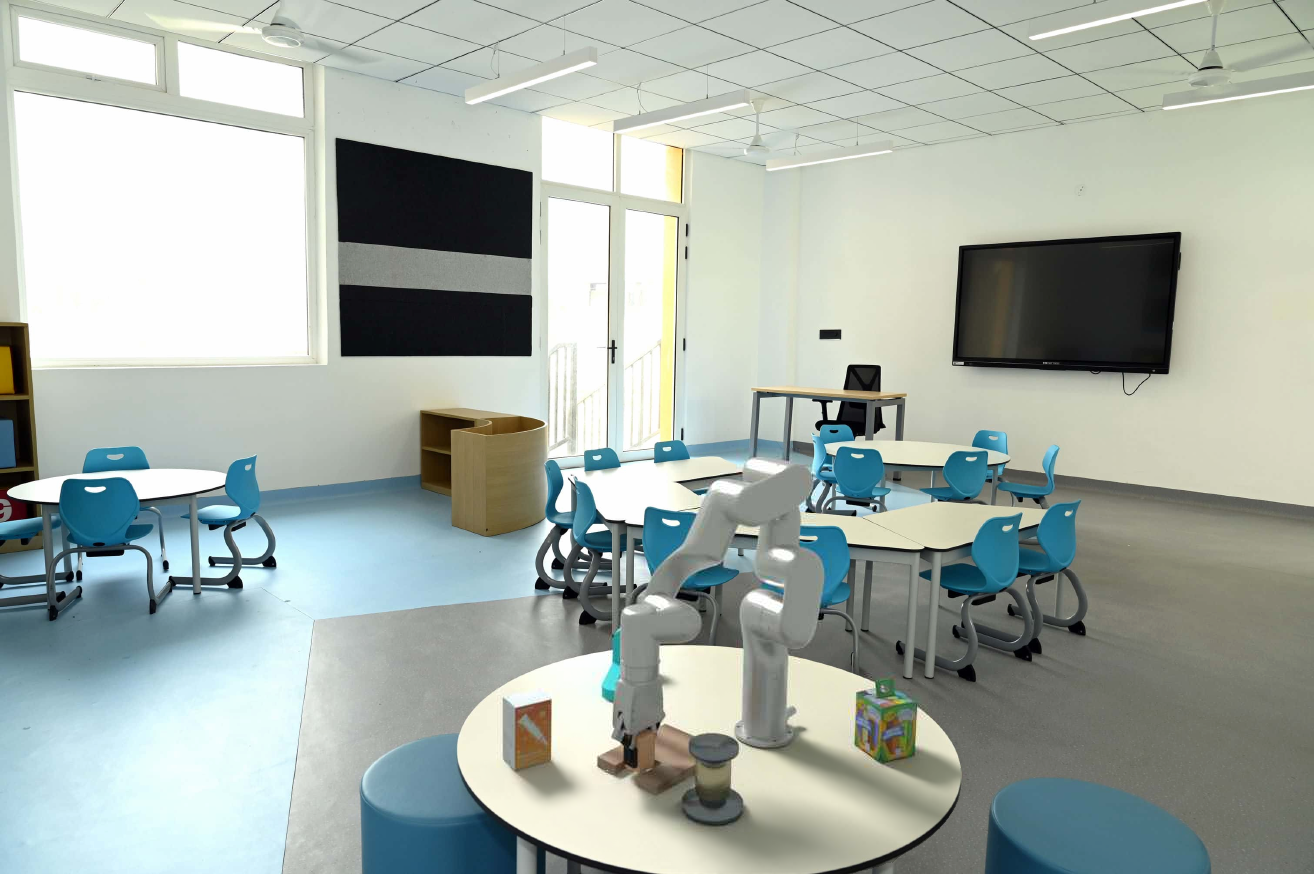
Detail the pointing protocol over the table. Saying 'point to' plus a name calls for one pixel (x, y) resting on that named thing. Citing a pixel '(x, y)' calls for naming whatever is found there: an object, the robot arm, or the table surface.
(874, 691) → the chalk box
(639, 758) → the light orange block
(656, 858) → the table surface
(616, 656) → the bracket
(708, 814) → the bobbin
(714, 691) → the table surface
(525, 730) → the small box
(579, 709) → the table surface
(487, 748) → the table surface
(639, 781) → the notched board
